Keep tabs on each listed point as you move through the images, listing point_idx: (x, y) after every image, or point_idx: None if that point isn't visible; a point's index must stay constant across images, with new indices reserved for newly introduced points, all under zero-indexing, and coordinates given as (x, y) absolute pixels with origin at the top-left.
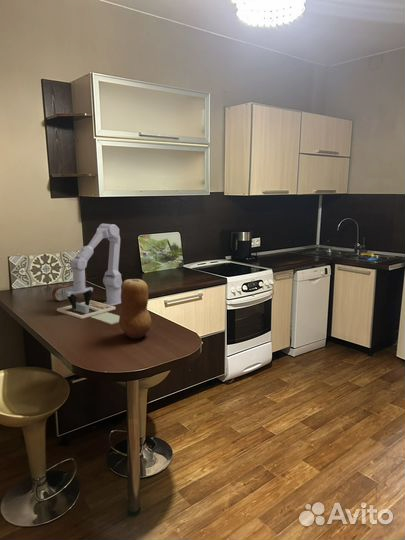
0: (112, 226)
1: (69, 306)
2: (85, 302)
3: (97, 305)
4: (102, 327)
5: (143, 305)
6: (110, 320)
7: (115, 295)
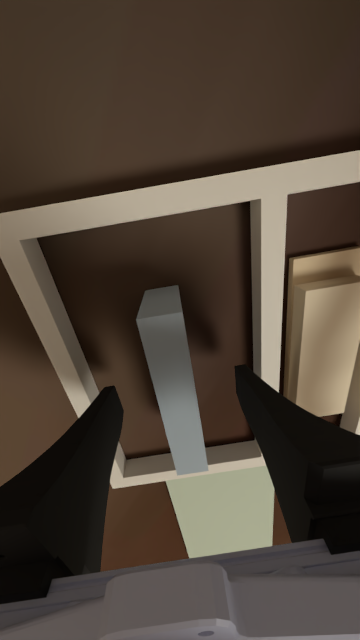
0: None
1: (132, 220)
2: (244, 388)
3: (322, 371)
4: (149, 557)
5: None
6: (207, 540)
7: None
